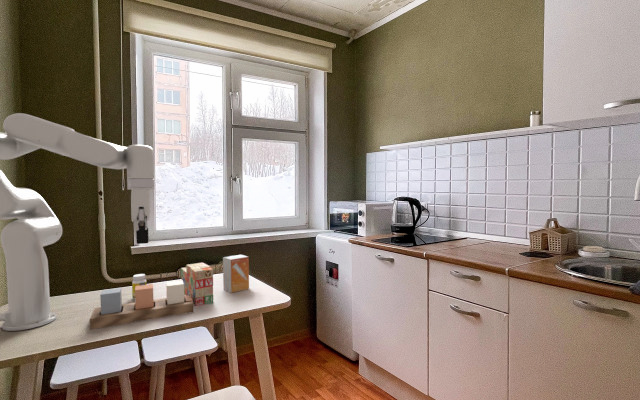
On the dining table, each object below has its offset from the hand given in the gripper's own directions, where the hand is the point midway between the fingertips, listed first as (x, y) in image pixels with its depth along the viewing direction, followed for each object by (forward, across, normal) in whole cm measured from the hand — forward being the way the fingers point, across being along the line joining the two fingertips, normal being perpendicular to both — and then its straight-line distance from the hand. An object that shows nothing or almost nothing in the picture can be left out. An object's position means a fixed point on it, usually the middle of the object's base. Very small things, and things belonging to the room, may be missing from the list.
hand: (142, 241), depth 107 cm
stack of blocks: (+24, -12, +17) cm, 32 cm away
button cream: (+21, 0, +9) cm, 23 cm away
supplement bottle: (+24, -20, -2) cm, 32 cm away
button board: (+24, 0, 0) cm, 24 cm away
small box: (+24, -13, +32) cm, 42 cm away
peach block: (+21, 0, 0) cm, 21 cm away
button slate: (+21, 0, -9) cm, 23 cm away
